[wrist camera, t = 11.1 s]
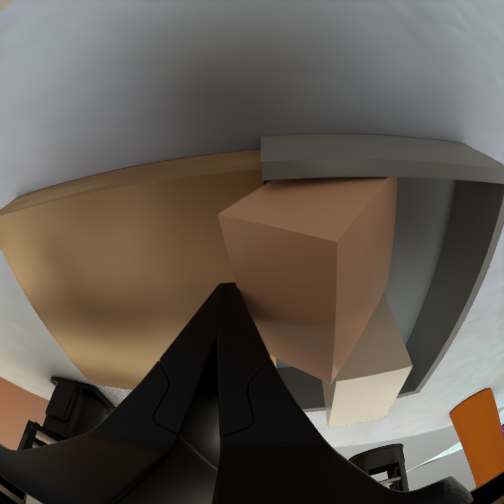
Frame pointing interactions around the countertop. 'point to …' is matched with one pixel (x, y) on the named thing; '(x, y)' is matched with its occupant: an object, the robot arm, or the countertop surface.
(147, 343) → the oak board
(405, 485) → the french press
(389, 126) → the countertop surface
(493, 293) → the countertop surface
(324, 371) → the tan cardboard box
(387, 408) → the cream rectangular block
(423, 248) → the tray
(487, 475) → the spray bottle
